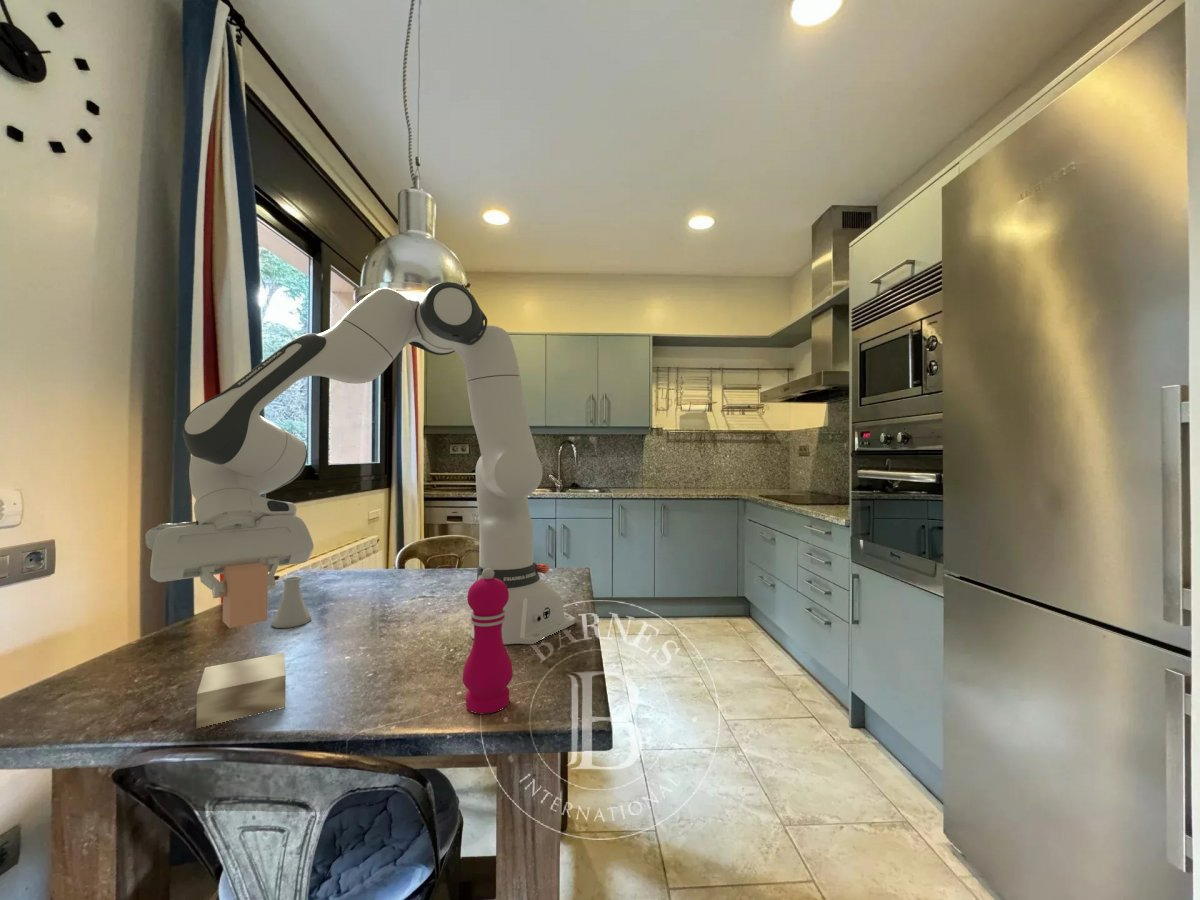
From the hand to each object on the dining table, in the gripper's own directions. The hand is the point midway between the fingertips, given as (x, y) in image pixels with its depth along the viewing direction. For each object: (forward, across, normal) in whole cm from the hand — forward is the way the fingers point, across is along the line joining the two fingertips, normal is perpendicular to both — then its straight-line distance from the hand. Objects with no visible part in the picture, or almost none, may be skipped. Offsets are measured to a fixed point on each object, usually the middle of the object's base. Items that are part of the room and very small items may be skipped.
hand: (245, 591), depth 73 cm
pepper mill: (+31, +24, -7) cm, 40 cm away
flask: (-13, +16, +37) cm, 42 cm away
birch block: (+12, 0, +12) cm, 17 cm away
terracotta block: (+3, 0, +3) cm, 4 cm away
